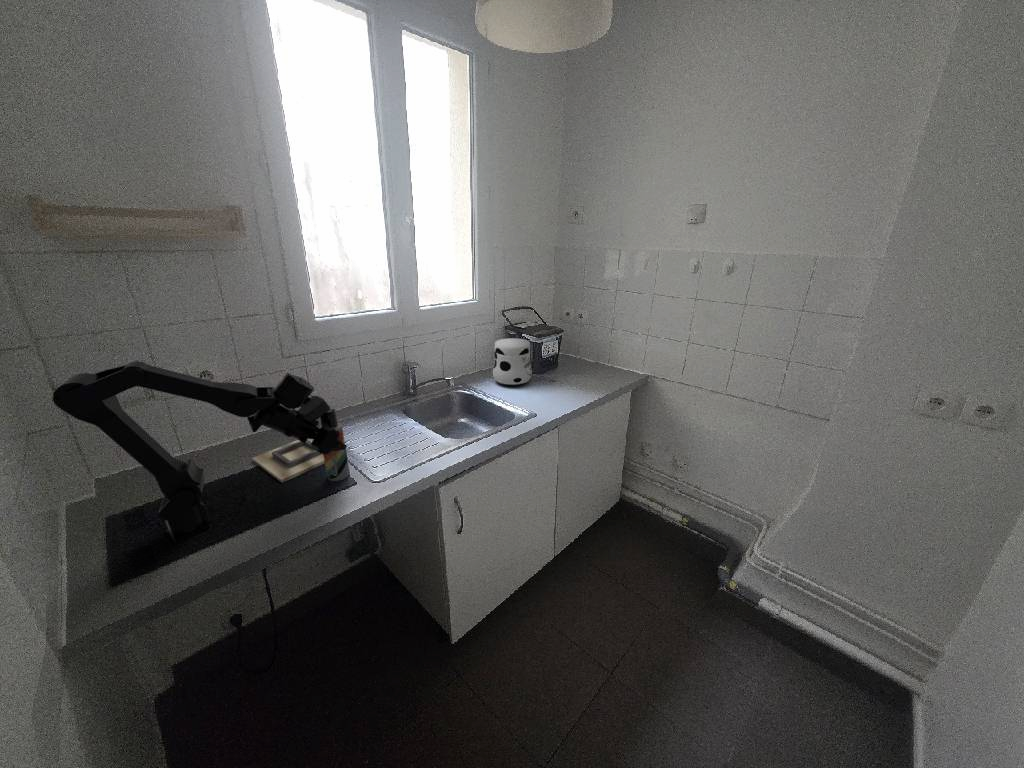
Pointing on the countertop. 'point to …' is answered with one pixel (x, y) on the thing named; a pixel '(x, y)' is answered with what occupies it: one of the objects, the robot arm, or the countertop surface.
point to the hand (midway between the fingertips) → (335, 442)
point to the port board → (290, 460)
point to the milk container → (512, 362)
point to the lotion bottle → (336, 459)
